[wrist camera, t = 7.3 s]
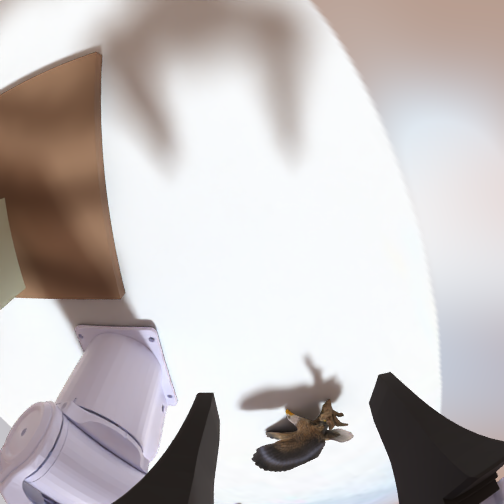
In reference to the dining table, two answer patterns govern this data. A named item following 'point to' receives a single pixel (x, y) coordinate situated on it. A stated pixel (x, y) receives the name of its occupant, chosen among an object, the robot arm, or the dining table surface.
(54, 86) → the walnut board
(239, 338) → the dining table surface
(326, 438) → the eagle figurine
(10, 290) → the sage green brick
